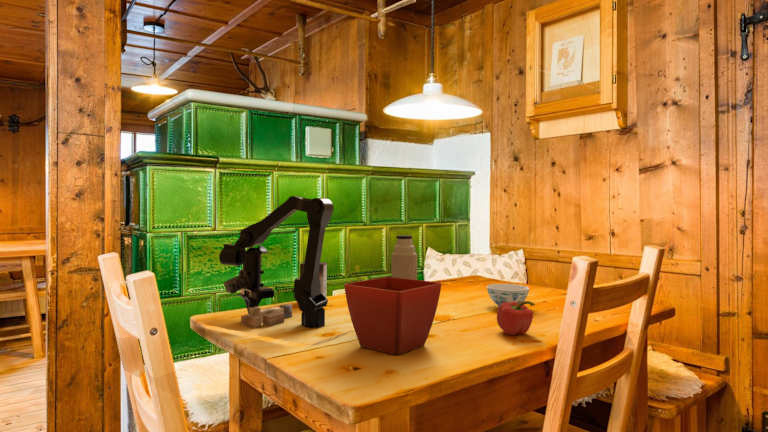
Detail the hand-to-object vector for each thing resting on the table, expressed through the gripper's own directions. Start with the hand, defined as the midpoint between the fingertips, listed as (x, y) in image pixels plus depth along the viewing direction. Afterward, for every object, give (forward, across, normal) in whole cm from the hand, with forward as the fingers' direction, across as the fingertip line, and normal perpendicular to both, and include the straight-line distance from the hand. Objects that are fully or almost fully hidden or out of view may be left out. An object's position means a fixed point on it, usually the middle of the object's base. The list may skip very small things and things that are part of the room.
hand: (250, 316), depth 152 cm
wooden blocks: (+2, +8, 0) cm, 8 cm away
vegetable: (0, +63, +51) cm, 81 cm away
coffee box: (+2, -8, +30) cm, 31 cm away
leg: (+1, +4, +5) cm, 7 cm away
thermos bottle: (+1, +34, +35) cm, 48 cm away
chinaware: (+1, +42, +81) cm, 91 cm away
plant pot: (+1, +48, +16) cm, 51 cm away
